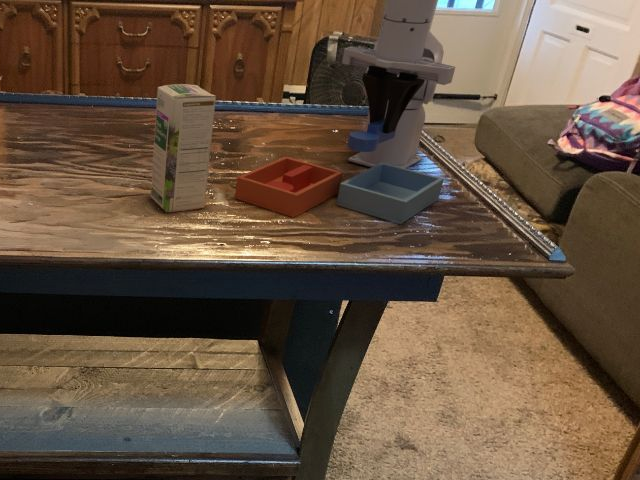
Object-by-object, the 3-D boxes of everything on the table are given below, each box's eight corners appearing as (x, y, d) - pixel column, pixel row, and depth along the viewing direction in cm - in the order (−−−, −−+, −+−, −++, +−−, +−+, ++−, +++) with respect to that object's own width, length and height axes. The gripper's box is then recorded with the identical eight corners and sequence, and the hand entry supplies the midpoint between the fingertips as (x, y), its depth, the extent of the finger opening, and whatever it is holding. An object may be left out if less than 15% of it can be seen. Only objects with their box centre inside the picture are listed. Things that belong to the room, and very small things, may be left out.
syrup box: (148, 197, 102) (154, 85, 93) (188, 193, 104) (197, 82, 95) (165, 213, 97) (172, 96, 89) (207, 208, 99) (217, 93, 91)
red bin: (282, 176, 110) (285, 156, 108) (339, 193, 105) (343, 172, 104) (234, 198, 103) (237, 177, 101) (293, 217, 98) (297, 195, 96)
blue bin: (376, 182, 109) (381, 161, 108) (438, 199, 105) (444, 178, 103) (336, 204, 102) (340, 183, 100) (400, 224, 97) (406, 202, 95)
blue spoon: (366, 154, 98) (371, 133, 96) (341, 146, 100) (345, 126, 98) (402, 139, 103) (407, 120, 102) (377, 133, 105) (381, 114, 104)
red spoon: (282, 205, 100) (285, 186, 98) (257, 197, 102) (260, 178, 100) (317, 187, 106) (320, 169, 104) (293, 180, 108) (296, 162, 106)
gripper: (338, 14, 96) (319, 123, 103) (447, 32, 88) (417, 149, 95) (367, 8, 100) (347, 114, 108) (473, 25, 92) (443, 138, 99)
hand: (381, 130), depth 102 cm, fingers closed on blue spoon
